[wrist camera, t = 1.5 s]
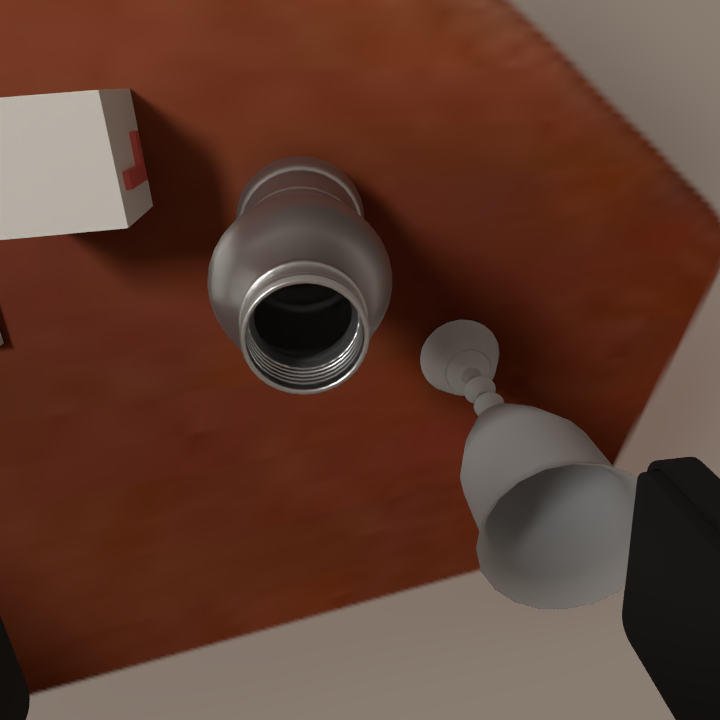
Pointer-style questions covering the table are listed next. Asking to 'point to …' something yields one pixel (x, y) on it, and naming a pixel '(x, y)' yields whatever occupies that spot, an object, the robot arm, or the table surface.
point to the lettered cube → (70, 164)
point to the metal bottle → (300, 276)
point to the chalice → (533, 485)
